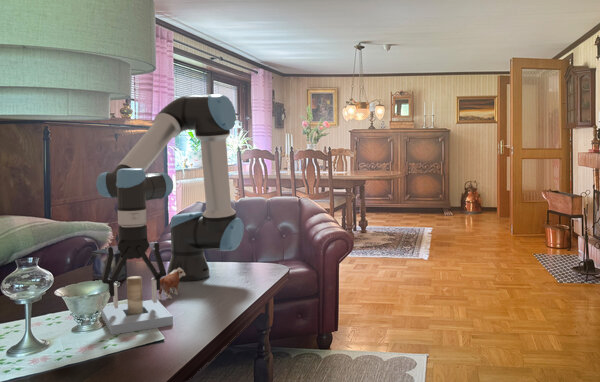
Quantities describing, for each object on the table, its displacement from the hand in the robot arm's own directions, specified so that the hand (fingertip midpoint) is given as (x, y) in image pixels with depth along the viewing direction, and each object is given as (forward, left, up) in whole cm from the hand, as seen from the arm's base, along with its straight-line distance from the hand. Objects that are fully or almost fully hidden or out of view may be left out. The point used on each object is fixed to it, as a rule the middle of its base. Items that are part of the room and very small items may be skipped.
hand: (135, 304), depth 158 cm
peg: (0, 0, -4) cm, 4 cm away
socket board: (0, 0, -4) cm, 4 cm away
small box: (-50, +1, -5) cm, 50 cm away
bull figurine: (-19, +15, -5) cm, 25 cm away
